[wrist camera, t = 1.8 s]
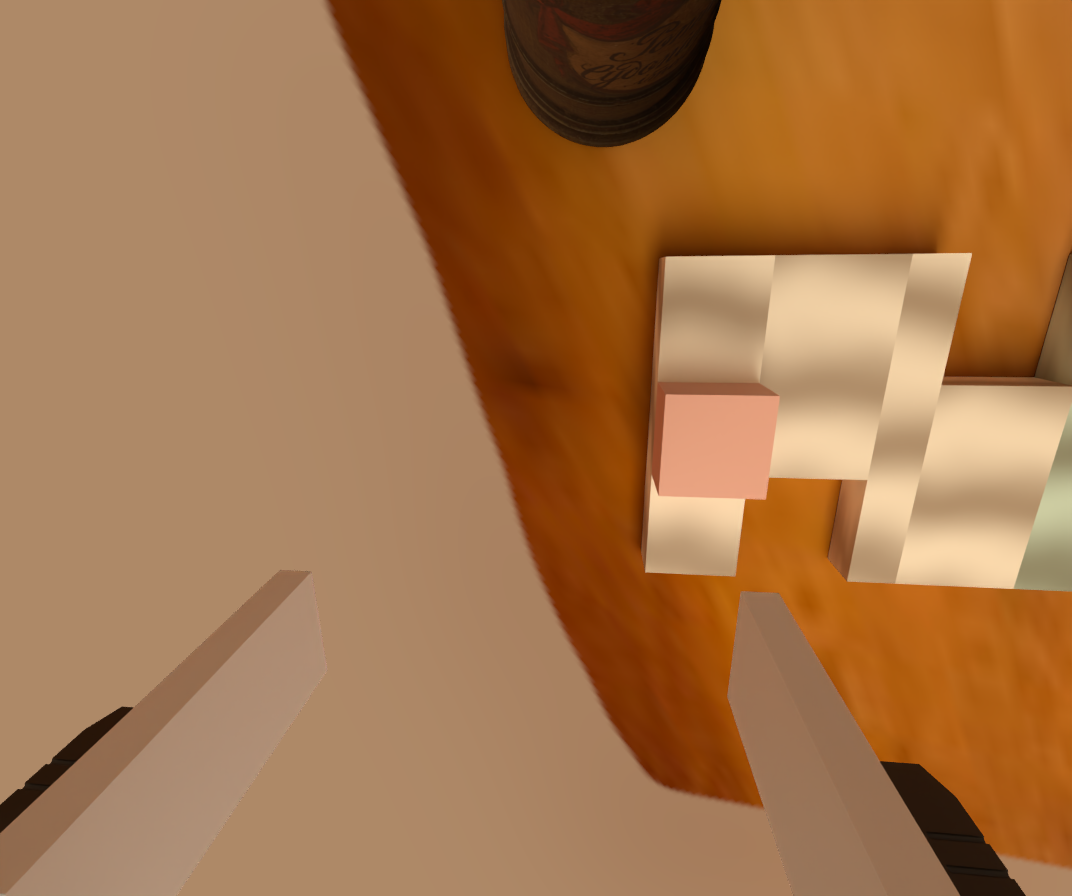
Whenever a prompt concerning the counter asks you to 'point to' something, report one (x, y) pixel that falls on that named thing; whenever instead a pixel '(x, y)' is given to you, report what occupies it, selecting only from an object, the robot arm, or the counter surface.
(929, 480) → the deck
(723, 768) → the counter surface
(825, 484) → the counter surface
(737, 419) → the block
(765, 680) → the robot arm
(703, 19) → the container
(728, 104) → the counter surface
